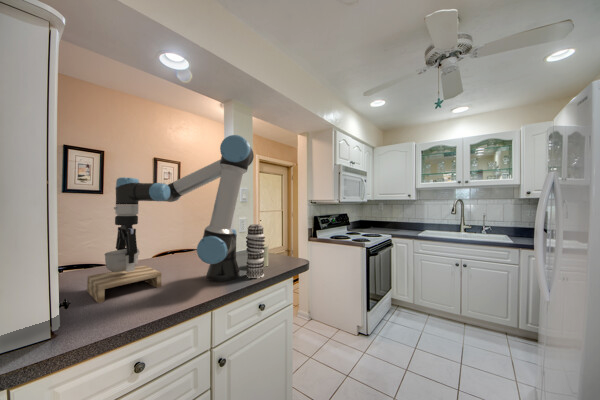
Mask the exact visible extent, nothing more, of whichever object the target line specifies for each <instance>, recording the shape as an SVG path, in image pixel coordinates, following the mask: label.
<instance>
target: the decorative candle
mask: <svg viewBox="0 0 600 400" xmlns="http://www.w3.org/2000/svg"><path fill="white" fill-rule="evenodd" d="M246 235H247V236H246V237H245V239H246V241H245V242H246V243H245V244H246V245H245V246H246V247H247V248H246V253H247V258H246V276H247V277H248V278H247V277H246V278H247V279H250V278H257V279H261V278H260V277H262V278H264V276H265V268H263V266H264V264H263V263H264V261H263V260H264V258H263V252H264V250H263V249H264V247H263V246H264V245H266V244H264V243H265V242H266V240H265V239H266V237H265V236H264V235H265V234H264V227H263V225H262V224H260V223H258V224H249V226H248V227H247V234H246Z"/></svg>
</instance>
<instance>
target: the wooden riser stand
mask: <svg viewBox="0 0 600 400" xmlns="http://www.w3.org/2000/svg"><path fill="white" fill-rule="evenodd" d="M86 281H87V285H86V286H87V288H86V291H87V293H88V294H89V295H90V296H91V297H92V298H93V299H94V300H95V301H96V303H98V304H101V303H104V302H105V293H106V292H105V291H106V289H112V288H115V287H120V286H124V285H129V284H132V283H138V282H142V281H144V282H145V283H147V284H149V285H151V286H153V287H154V288H156V289H158V288H161V287H162V272H161V271H159V270H157V269H154V268H153V267H150V266H147V265H141V266H135V271H130V272H126V271H123V272H112V271H108V272H103V273H98V274H93V275H88V276H87V280H86Z"/></svg>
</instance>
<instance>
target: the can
mask: <svg viewBox="0 0 600 400" xmlns="http://www.w3.org/2000/svg"><path fill="white" fill-rule="evenodd" d="M263 247H264V249H263V250H264V252H263V258H264V260H263V261H264V263H263V264H264V266H263V267H265V266H268V265H269V245H268V244H265V245H264V246H263ZM268 267H269V266H268ZM265 268H266V267H265Z"/></svg>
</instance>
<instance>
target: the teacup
mask: <svg viewBox="0 0 600 400" xmlns="http://www.w3.org/2000/svg"><path fill="white" fill-rule="evenodd" d="M126 253H127V249H123V250H117V249H116V250H112V251H109V252H108V251H107V252H106V253H104V261H105V262H104V263H105V268H106V269H107V270H108V271H109V272H123V271H126V256H125V254H126ZM139 255H140V249H139V248H138V247H137V253H136V254H135V267H137V265H138V263H139Z"/></svg>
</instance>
